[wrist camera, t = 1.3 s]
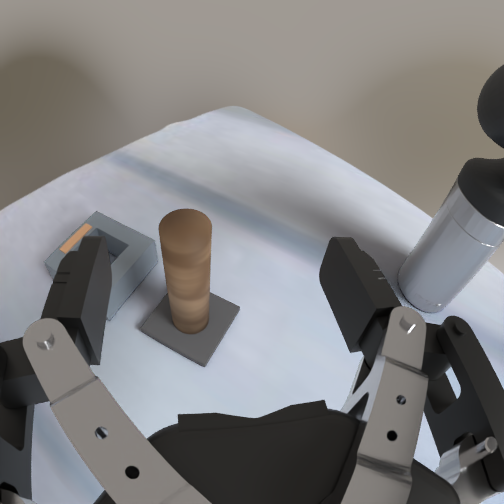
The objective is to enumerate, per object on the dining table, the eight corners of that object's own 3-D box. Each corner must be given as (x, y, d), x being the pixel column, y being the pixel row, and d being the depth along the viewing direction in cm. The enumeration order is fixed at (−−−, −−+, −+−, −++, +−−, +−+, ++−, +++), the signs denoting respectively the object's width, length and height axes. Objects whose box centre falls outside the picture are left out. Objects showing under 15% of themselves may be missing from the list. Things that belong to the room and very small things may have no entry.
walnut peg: (184, 296, 36) (178, 202, 26) (215, 312, 35) (221, 220, 25) (165, 323, 34) (148, 233, 23) (197, 340, 33) (193, 255, 22)
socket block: (102, 232, 42) (96, 209, 39) (158, 261, 40) (154, 239, 37) (54, 281, 36) (43, 261, 32) (109, 320, 34) (99, 301, 30)
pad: (180, 280, 38) (179, 276, 38) (239, 310, 37) (240, 306, 36) (141, 331, 33) (140, 328, 33) (204, 367, 32) (204, 364, 31)
